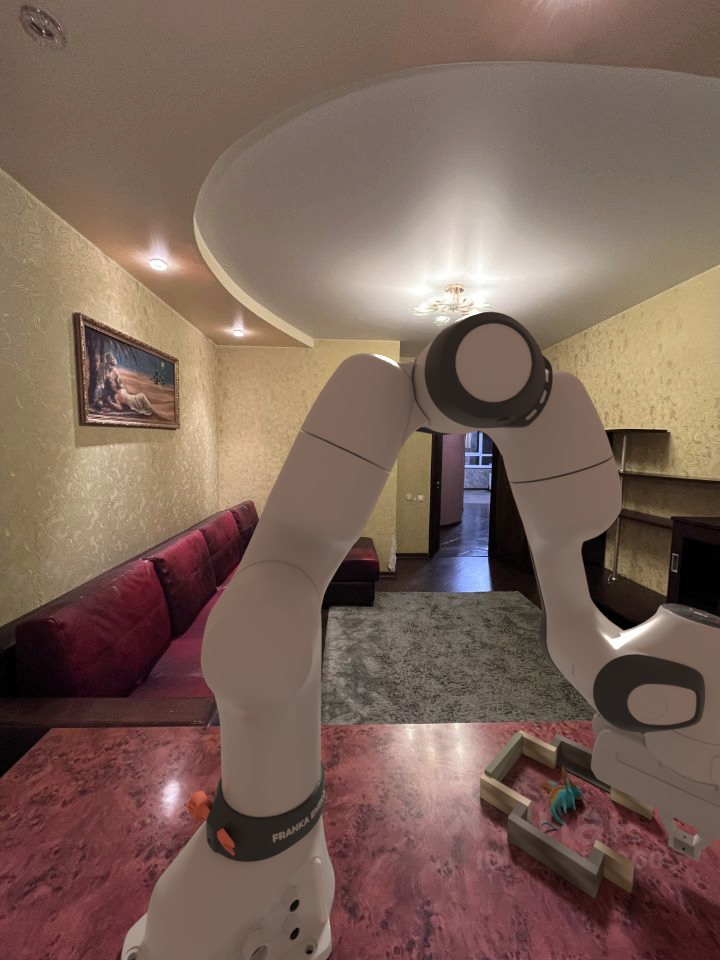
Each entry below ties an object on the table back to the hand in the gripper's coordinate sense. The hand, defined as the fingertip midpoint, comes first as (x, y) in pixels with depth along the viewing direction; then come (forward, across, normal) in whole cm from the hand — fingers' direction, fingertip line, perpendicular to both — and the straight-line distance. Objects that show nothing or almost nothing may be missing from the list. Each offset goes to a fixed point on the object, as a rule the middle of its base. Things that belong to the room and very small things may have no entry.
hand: (684, 850), depth 49 cm
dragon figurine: (+4, -14, -1) cm, 14 cm away
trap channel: (+3, -14, 0) cm, 14 cm away
